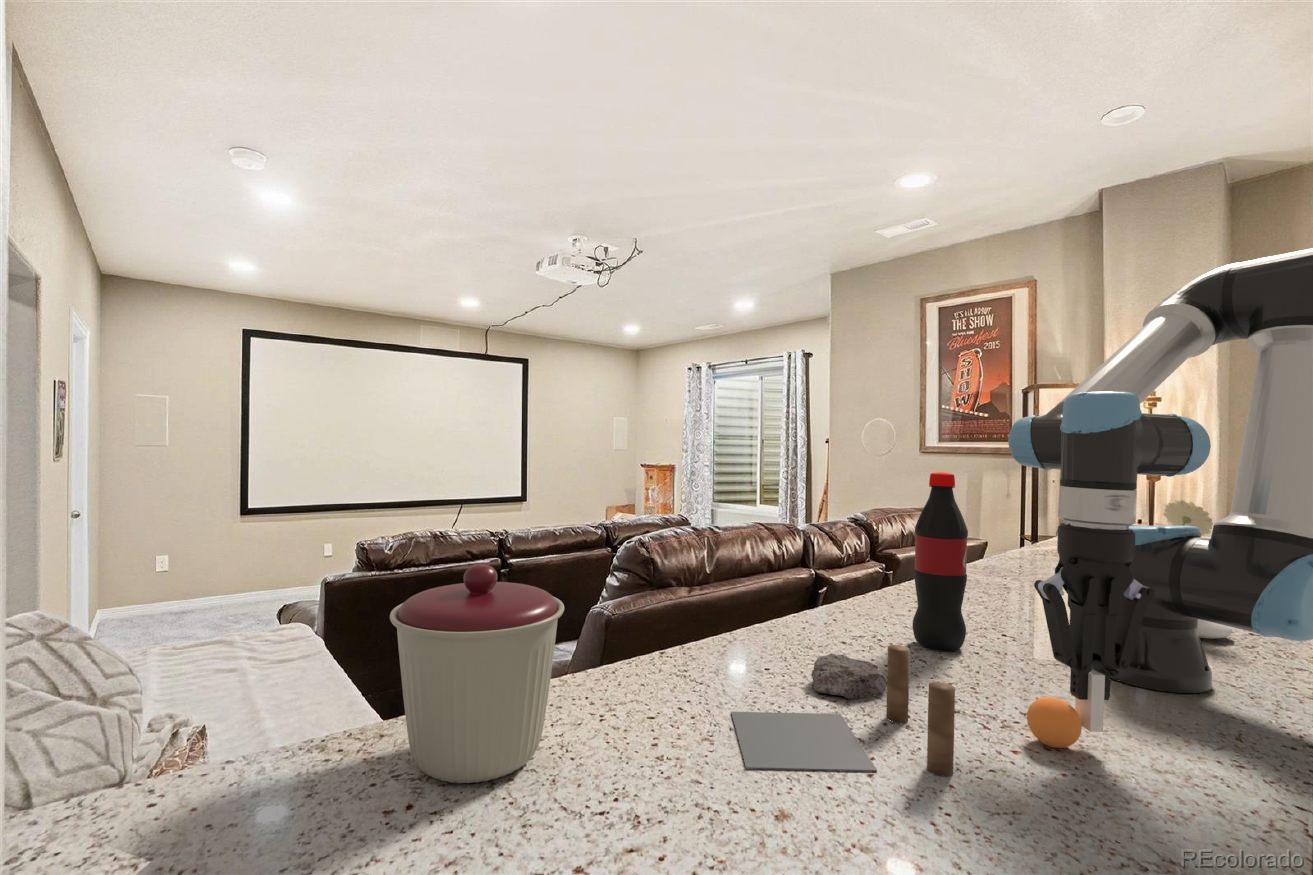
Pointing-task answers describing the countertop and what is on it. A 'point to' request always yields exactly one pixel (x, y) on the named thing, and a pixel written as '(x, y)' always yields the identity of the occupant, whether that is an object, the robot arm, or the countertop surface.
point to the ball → (1054, 722)
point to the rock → (847, 677)
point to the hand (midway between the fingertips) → (1088, 726)
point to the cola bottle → (940, 568)
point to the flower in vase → (1195, 516)
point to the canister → (476, 674)
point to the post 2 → (940, 728)
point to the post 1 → (898, 683)
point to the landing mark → (799, 742)
